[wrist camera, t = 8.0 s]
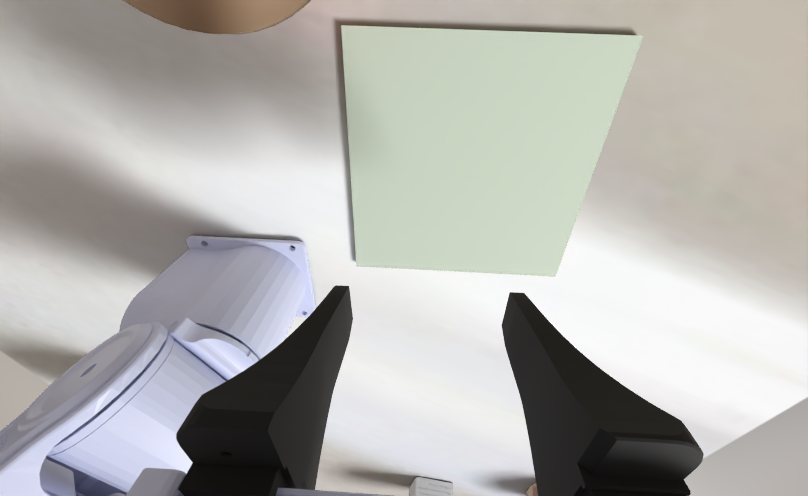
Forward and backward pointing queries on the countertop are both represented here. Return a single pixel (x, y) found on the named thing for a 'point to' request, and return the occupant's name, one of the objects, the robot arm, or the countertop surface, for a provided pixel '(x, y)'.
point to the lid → (220, 13)
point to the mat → (475, 142)
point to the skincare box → (430, 487)
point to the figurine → (532, 490)
